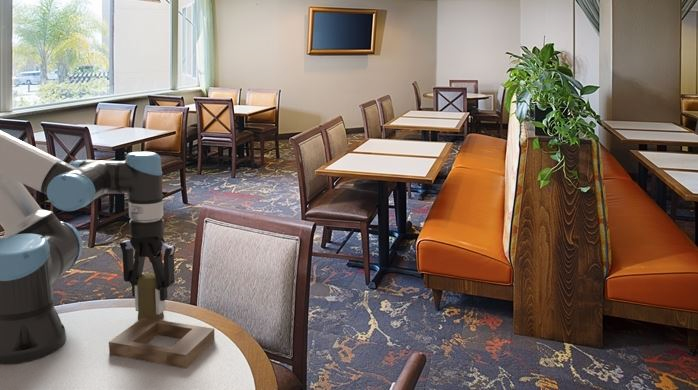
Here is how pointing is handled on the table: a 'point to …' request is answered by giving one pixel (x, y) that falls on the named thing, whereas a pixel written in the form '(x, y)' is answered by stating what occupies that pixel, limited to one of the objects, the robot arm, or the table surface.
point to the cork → (148, 297)
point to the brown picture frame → (178, 355)
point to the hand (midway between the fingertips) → (150, 310)
